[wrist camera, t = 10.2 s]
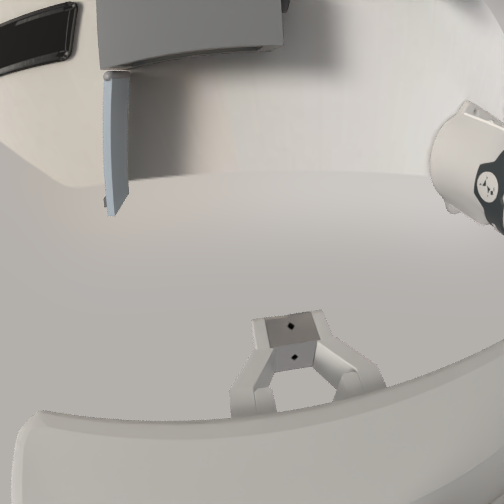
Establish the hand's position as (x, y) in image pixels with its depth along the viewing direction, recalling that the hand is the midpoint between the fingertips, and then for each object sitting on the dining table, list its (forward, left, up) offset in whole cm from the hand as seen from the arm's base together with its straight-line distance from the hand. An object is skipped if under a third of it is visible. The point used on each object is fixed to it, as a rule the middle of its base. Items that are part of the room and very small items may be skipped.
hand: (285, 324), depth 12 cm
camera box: (+4, -17, -25) cm, 31 cm away
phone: (+25, -21, -26) cm, 41 cm away
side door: (+13, -5, -24) cm, 28 cm away
